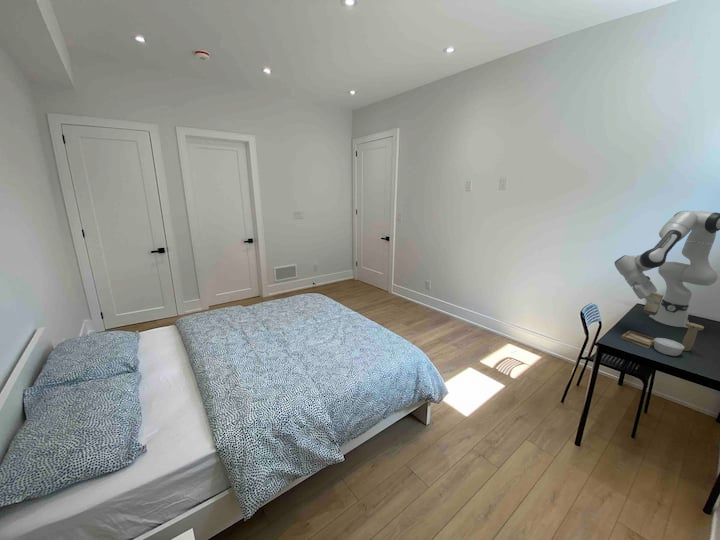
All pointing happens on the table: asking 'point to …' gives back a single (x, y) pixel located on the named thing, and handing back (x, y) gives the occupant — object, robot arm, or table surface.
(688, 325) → the handle
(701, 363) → the table surface
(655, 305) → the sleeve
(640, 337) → the wooden tray
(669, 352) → the ramekin
